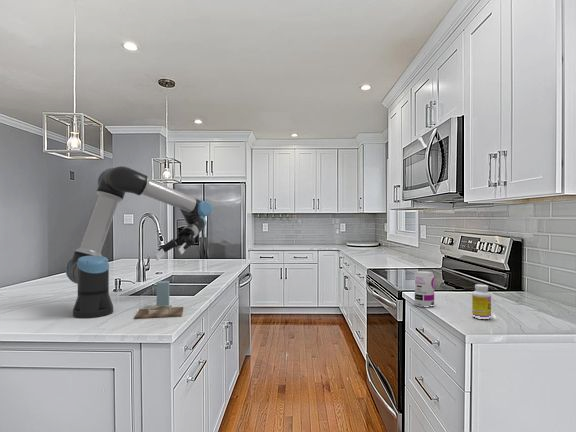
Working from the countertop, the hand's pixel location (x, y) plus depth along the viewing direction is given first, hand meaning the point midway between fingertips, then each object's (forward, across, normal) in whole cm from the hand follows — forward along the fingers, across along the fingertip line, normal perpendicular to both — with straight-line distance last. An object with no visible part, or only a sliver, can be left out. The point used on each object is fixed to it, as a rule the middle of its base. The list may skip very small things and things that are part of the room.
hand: (167, 255), depth 188 cm
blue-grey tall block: (+16, +3, -17) cm, 24 cm away
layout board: (+27, -4, -14) cm, 30 cm away
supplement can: (-10, -103, -58) cm, 119 cm away
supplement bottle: (+5, -124, -56) cm, 136 cm away
